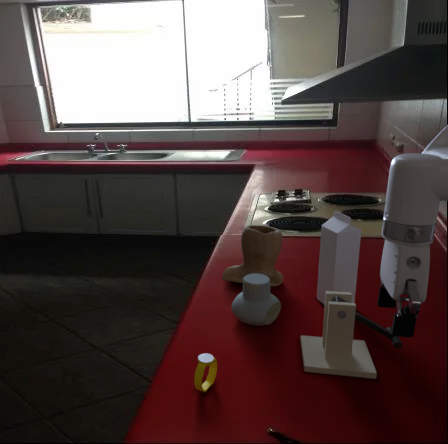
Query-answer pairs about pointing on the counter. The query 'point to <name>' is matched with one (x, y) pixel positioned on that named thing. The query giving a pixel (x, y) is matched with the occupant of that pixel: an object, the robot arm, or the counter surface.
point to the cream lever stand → (337, 342)
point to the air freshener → (256, 301)
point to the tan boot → (257, 255)
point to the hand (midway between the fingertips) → (393, 320)
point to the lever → (374, 326)
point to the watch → (203, 361)
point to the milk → (338, 256)
